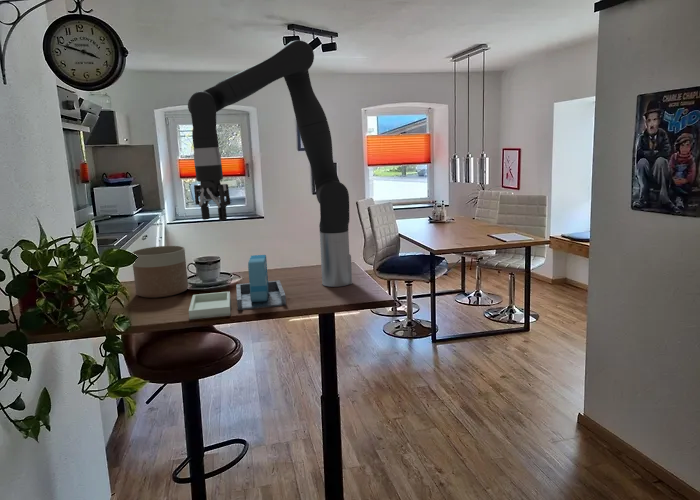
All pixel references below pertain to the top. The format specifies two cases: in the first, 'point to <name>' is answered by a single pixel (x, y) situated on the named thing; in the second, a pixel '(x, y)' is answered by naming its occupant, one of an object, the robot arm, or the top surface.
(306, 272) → the top surface
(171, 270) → the planter
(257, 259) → the blue flat block
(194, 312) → the tray
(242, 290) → the bay
